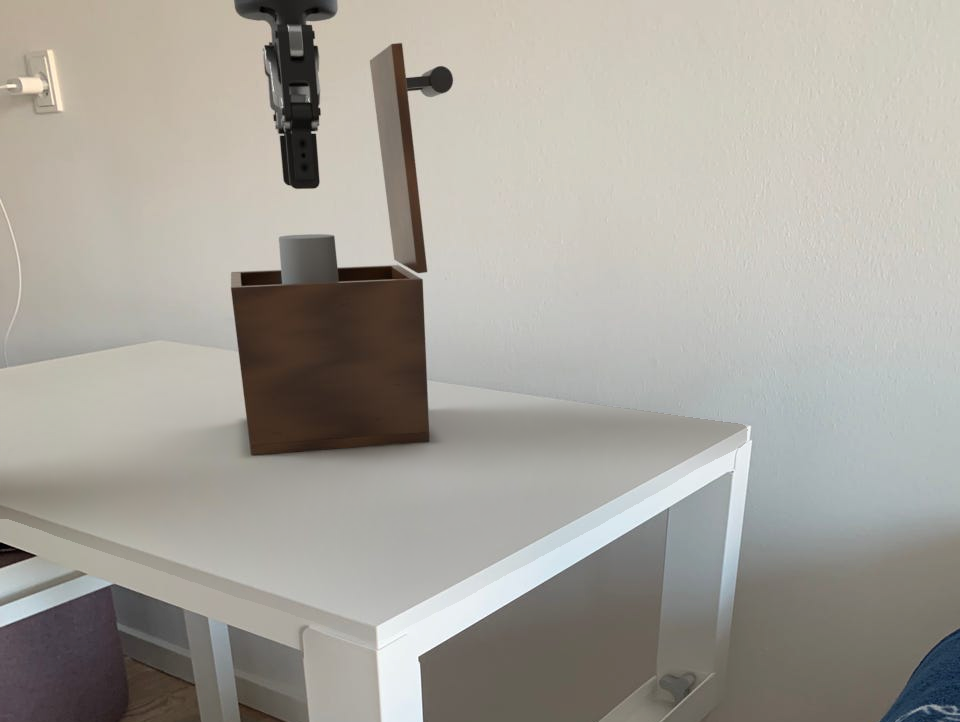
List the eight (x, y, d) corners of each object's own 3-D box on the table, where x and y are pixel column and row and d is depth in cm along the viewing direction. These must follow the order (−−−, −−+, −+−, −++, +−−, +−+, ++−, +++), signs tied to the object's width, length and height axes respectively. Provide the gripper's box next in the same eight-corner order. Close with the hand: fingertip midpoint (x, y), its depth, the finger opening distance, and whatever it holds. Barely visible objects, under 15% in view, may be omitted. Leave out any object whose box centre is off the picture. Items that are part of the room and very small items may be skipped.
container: (331, 413, 90) (316, 233, 83) (360, 422, 87) (347, 235, 80) (285, 422, 87) (266, 236, 81) (313, 431, 84) (296, 239, 77)
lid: (391, 43, 71) (460, 37, 71) (369, 60, 82) (429, 54, 83) (417, 273, 78) (480, 265, 78) (394, 259, 89) (449, 253, 89)
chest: (251, 455, 81) (230, 287, 75) (248, 420, 92) (230, 271, 86) (429, 441, 83) (422, 279, 78) (406, 409, 94) (398, 264, 89)
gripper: (227, -44, 78) (250, 185, 85) (228, -83, 65) (255, 190, 72) (324, -41, 79) (339, 184, 86) (343, -79, 67) (359, 188, 74)
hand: (301, 187), depth 79 cm, fingers open, 8 cm apart
